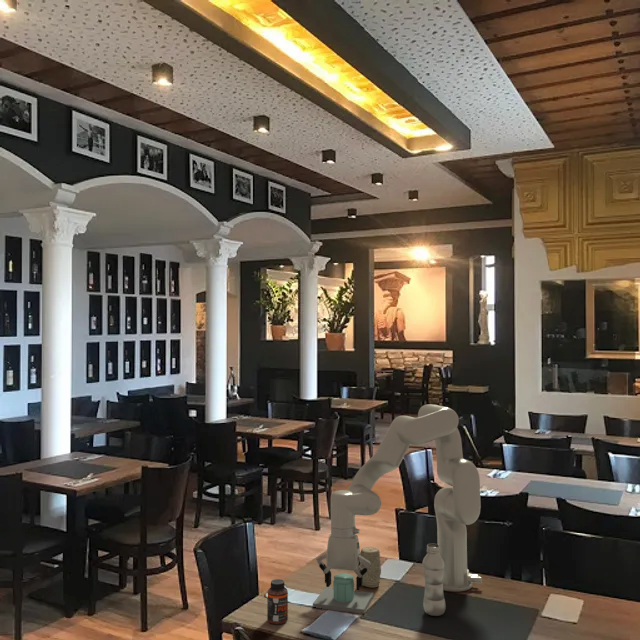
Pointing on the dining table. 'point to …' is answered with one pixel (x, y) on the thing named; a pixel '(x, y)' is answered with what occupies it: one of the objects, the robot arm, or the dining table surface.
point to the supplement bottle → (277, 602)
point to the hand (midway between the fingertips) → (343, 587)
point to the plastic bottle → (433, 581)
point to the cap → (343, 587)
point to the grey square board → (356, 606)
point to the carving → (371, 567)
